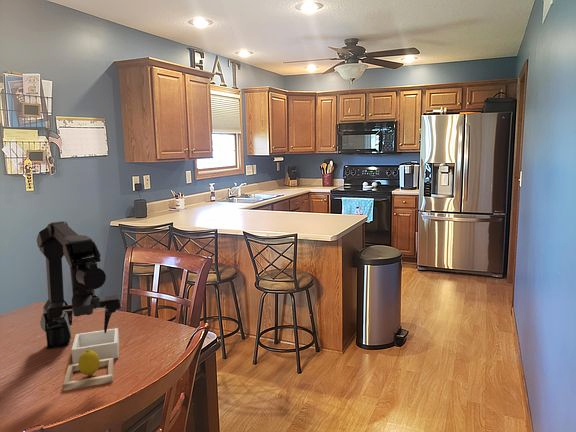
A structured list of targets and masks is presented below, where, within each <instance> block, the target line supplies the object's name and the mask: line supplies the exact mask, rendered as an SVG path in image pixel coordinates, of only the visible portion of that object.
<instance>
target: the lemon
mask: <svg viewBox="0 0 576 432" xmlns="http://www.w3.org/2000/svg"><path fill="white" fill-rule="evenodd" d="M78 365H79V370H80V373H81V374H82V375H85V376H88V377H93V374H95V373H97V371H99V368H100V367H99V357H98V355H97V353H96V352H94V351H92V350H86V351H85V352H83V353H82V354H81V356H80V358H79V362H78Z"/></svg>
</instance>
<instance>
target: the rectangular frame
mask: <svg viewBox="0 0 576 432" xmlns="http://www.w3.org/2000/svg"><path fill="white" fill-rule="evenodd" d="M114 360H115V359H113V358H107V359H101V360H99V368H104V367H107V374H105V375H99V376H94V377H93V376H91V377H89V378H82V379H77V380H72V378H73V373H74V372H79V371H80V370H79V365H78V363H77V364H73V363H72V364H68V366H67V370H66V373H65V376H64V380H63V384H62V386H63V389H62V390H63V392H65V391H71V390H76V389H80V388H86V387H91V386H97V385H104V384H109V383H113V381H114V380H113V379H114V365H115V364H114V363H115V361H114Z"/></svg>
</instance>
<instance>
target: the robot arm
mask: <svg viewBox="0 0 576 432" xmlns="http://www.w3.org/2000/svg"><path fill="white" fill-rule="evenodd" d="M36 244H37V248H39V251H40V253H41V254H42V255H43V256H44V258H45V266H46V268H45V269H46V283H47V297H48V299H47V300H46V301H45V304H44V305H43V308H42V309H43V313H42V314H41V317H40V321H39V322H40V323H39V324H40V329H41V330H42V331H44V332H45V336H46V347H45V348H46V350H47V349H48V350H49V349H54V348H55V349H56V348H62V347H67V346H69V343H70V342H71V339H72V330H71V326H72V325H73V316H74V317H81V316H85V315H86V316H89V315H92V314H93V313H94V310H95V309H100V308H104V309H105V310H104V323H103V330H104V333H106V331H107V330H108V325H109V322H110V319H111V317H112V314H113V313H116V312H117V310H120V309H121V308H122V307H121V303H122V302H121V296H120V295H118V294H114V295H108V296H105V297H104V298H105V299H101V297H100V294H96V291H95V290H97V289H99V288H101V287H102V286H103V285H104V284H105V282H106V280H107V275H106V273H105V271H104V270H103V269H102V268H100V267H98V263H99V262H101V253H100V251H99V249H98V246H97V244H96V243H95V241H94V240H93V239H92V238H91V237H90V236H88V235H86V234H85V235H82V234H78V233H76V231H74V230H73V229H72V228H71V227H70V226H69V225H68V223H67V221H63V220H62V221H61V220H60V221H53V222H50V223H48V224H47V226H46V227H45V228H43V229H42V230H40V231H39V232H38V235H37V236H36ZM63 257H64V258H65V259H66V262H67V264H68V266H69V271H70V272H69V273H70V281H71V292H72V298H71V304H68V302H66V301H65V294H64V277H63V276H64V275H63V274H64V273H63Z"/></svg>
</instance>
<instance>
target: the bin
mask: <svg viewBox="0 0 576 432" xmlns="http://www.w3.org/2000/svg"><path fill="white" fill-rule="evenodd" d="M72 343H73V344H72V347H71V360H72V364H77V363H78V362H79V358H80V356H81V354H82V353H83V352H85V351H86V350H92V351H94V352H96V353H97V355H98V357H99V360H101V359H107V358H113V359H114V360H115V359H119V355H120V354H119V353H120V336H119V327H115V328H109V329H108V328H107V331H106V333H104V329H101V330H96V331H89V332H82V333H76V334H75V336H74V340H73V342H72Z"/></svg>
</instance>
